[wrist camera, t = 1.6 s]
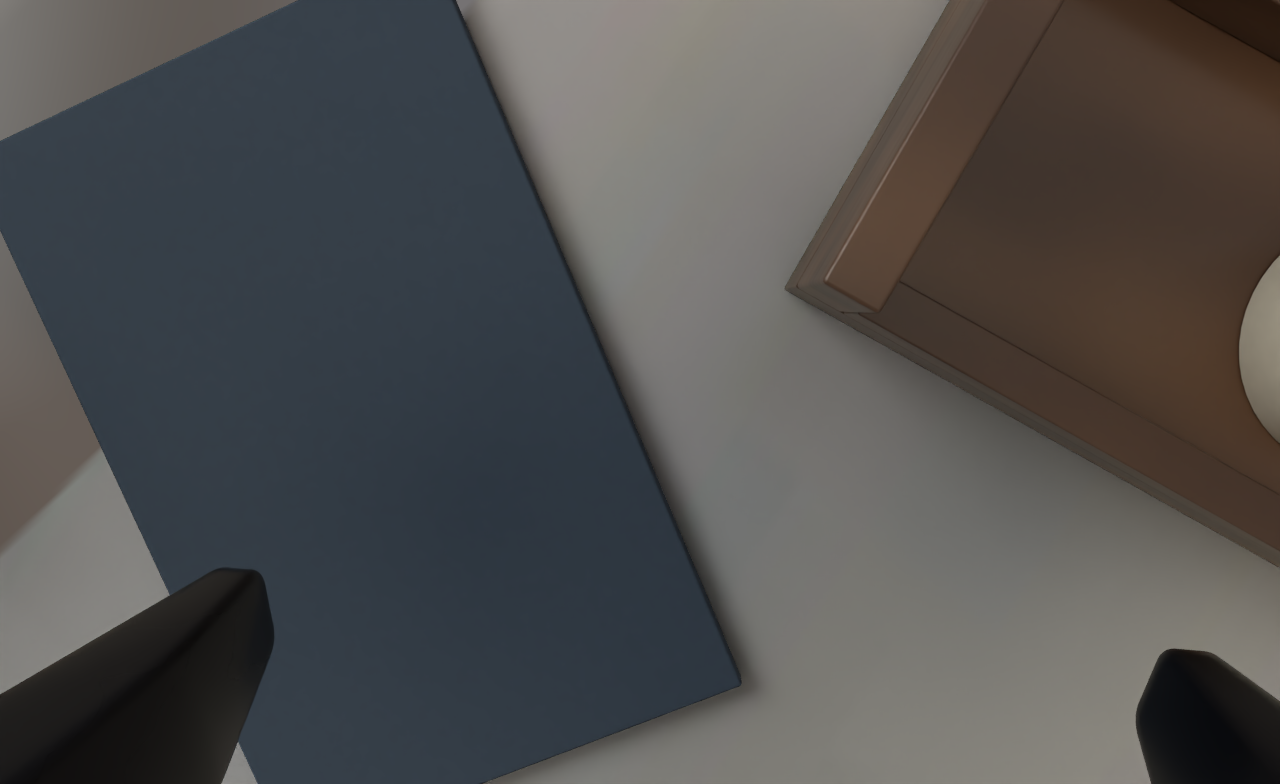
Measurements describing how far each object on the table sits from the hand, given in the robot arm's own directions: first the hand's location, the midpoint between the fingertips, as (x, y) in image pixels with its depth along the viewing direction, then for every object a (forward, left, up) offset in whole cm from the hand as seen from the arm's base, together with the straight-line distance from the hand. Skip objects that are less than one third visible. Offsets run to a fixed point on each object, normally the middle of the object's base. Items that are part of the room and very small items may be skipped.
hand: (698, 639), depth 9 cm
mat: (+4, +8, -14) cm, 16 cm away
